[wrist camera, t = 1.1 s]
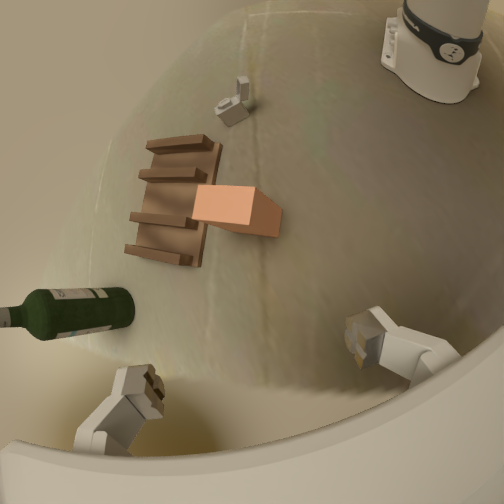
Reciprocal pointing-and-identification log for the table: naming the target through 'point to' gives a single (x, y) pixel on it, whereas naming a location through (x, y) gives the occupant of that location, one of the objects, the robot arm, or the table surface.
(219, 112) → the lighter
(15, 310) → the wine bottle
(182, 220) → the rack
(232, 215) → the salmon rectangular prism
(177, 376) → the table surface
